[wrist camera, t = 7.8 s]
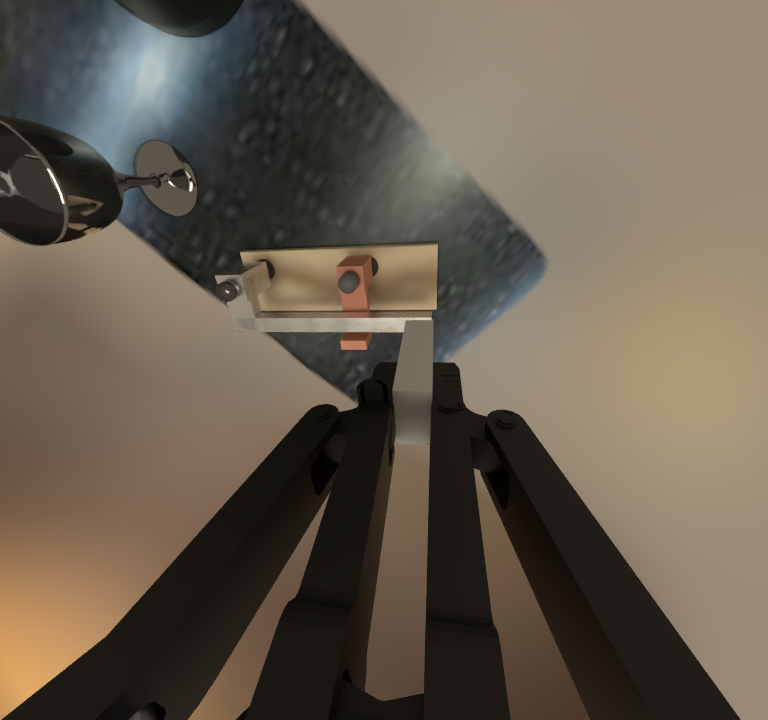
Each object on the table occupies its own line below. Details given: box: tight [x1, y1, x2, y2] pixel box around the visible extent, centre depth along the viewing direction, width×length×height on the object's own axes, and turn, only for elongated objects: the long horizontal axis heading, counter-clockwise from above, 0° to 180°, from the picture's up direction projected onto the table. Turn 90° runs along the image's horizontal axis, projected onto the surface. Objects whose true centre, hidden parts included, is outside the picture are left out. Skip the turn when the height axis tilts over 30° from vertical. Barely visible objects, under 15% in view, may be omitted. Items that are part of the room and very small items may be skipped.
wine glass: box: [0, 115, 198, 246], centre depth 28 cm, size 8×8×15 cm
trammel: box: [215, 262, 432, 332], centre depth 33 cm, size 6×20×8 cm, turn 94°
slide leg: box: [336, 256, 373, 350], centre depth 33 cm, size 8×3×6 cm, turn 4°
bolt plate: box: [240, 243, 438, 311], centre depth 37 cm, size 7×22×1 cm, turn 94°
